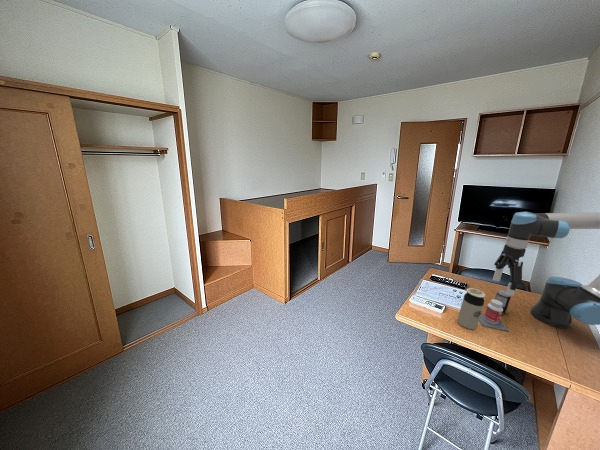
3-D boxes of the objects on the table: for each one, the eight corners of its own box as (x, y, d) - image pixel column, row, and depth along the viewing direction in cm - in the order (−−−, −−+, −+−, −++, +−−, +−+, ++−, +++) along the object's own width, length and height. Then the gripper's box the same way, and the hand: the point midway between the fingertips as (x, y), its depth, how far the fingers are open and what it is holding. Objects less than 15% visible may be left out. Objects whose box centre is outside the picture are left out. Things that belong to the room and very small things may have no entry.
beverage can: (507, 315, 128) (514, 295, 125) (495, 313, 129) (501, 294, 126) (501, 309, 133) (507, 290, 130) (489, 307, 134) (495, 288, 131)
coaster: (498, 317, 126) (498, 316, 126) (508, 331, 116) (509, 330, 116) (474, 312, 129) (474, 311, 129) (482, 326, 119) (482, 325, 119)
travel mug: (453, 318, 124) (462, 287, 119) (469, 319, 123) (479, 288, 118) (463, 329, 116) (472, 296, 111) (480, 330, 116) (490, 297, 111)
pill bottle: (497, 326, 118) (503, 307, 115) (482, 320, 122) (488, 301, 119) (499, 321, 122) (506, 302, 119) (484, 315, 126) (490, 296, 123)
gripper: (493, 236, 123) (483, 274, 129) (520, 255, 100) (505, 300, 106) (511, 238, 121) (499, 277, 127) (542, 258, 98) (526, 303, 104)
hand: (502, 287), depth 117 cm, fingers open, 13 cm apart
